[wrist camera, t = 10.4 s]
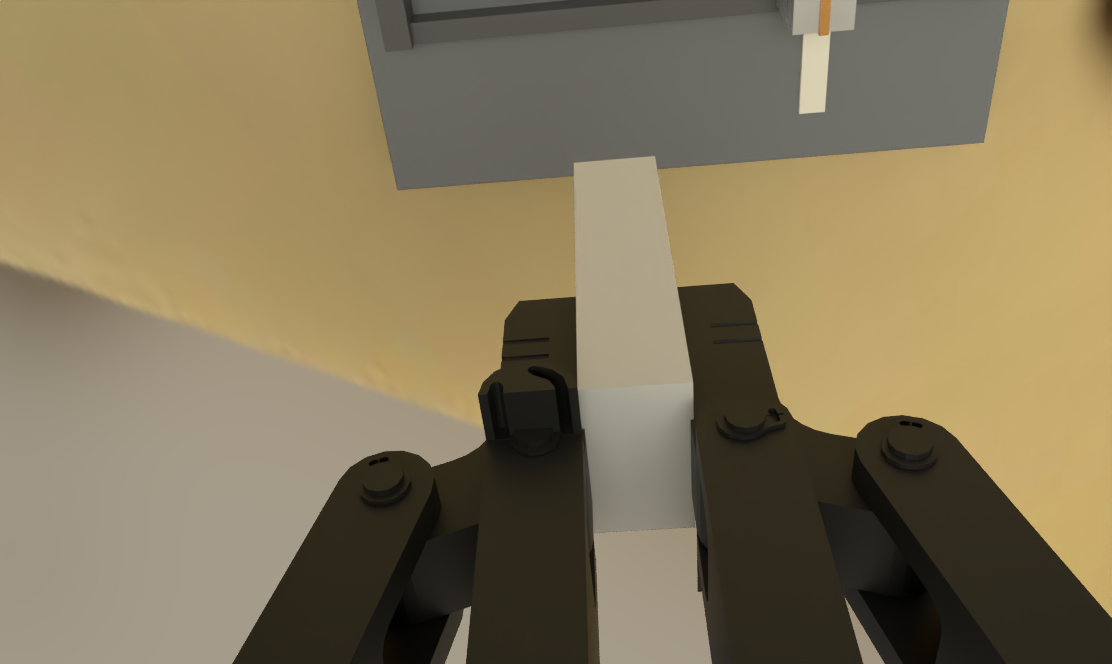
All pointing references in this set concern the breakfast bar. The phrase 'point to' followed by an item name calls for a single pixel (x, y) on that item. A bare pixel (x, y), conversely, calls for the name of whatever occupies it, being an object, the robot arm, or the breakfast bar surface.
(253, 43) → the breakfast bar surface
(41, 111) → the breakfast bar surface
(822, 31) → the fader
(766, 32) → the console
